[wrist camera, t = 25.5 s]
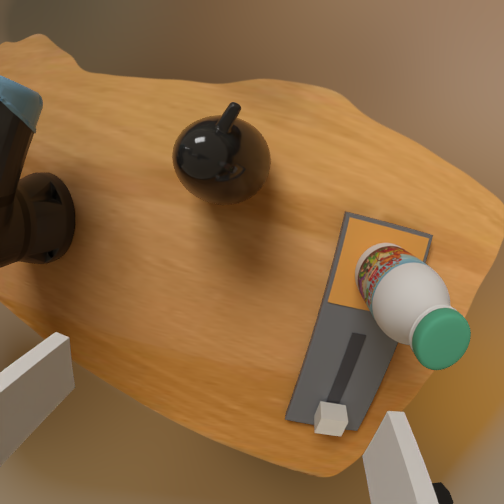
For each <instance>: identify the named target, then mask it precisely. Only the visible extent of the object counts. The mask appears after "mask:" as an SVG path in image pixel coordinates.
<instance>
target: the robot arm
mask: <svg viewBox="0 0 504 504" xmlns="http://www.w3.org/2000/svg"><path fill="white" fill-rule="evenodd" d="M42 107H43V100H42V98H41V96H40V95H39V94H38V93H37V92H35V91H33V90H31V89H29V88H27V87H25V86H23V85H21V84H18V83H16V82H14V81H12V80H10V79H7V78H5V77H3V76H1V75H0V268H1V267H3V266H6V265H9V264H11V263H14V262H18V261H20V262H28V263H36V264H45V263H49V262H52V261H55V260H57V259H59V258H60V257H61V256H63V255H64V254H65V252H66V251H67V249H68V248H69V246H70V244H71V241H72V238H73V234H74V228H75V212H74V206H73V202H72V198H71V195H70V193H69V191H68V189H67V187H66V186H65V184H64V183H63V182H62V181H61V180H60V179H59V178H58V177H57V176H55V175H53V174H51V173H33V174H30V175H27V176H25V177H24V178H22V179H20V175H21V172H22V168H23V165H24V162H25V159H26V156H27V152H28V149H29V146H30V143H31V141H32V138H33V135H34V133H36V125H37V122H38V119H39V116H40V113H41V110H42ZM19 179H20V180H19ZM74 388H75V383H74V376H73V368H72V360H71V350H70V339H69V337H67V336H65V335H62V334H60V333H57V332H55V333H54V334H52V335H51V336H49V337H48V338H47V339H45V340H44V341H43V342H41V343H40V344H38V345H37V346H36V347H34V348H33V349H31V350H30V351H29V352H27V353H26V354H25V355H23V356H22V357H21V358H19V359H18V360H16V361H15V362H14V363H13V364H11V365H10V366H8V367H7V368H6V369H4V370H3V371H2V372H0V467H1V465H2V464H3V463H4V462H5V461H6V460H7V459H8V458H9V457H10V456H11V454H12V453H13V452H14V451H15V450H16V449H17V448H18V447H19V446H20V445H21V444H22V443H23V442H24V440H25V439H26V438H27V437H28V436H29V435H30V434H31V433H32V432H33V431H34V430H35V429H36V428H37V427H38V426H39V425H40V423H41V422H42V421H43V420H44V419H45V418H46V417H47V416H48V415H49V414H50V413H51V412H52V411H53V410H54V409H55V408H56V407H57V406H58V405H59V404H60V403H61V401H62V400H63V399H64V398H65V397H66V396H67V395H68V394H69V393H70V392H71V391H72V390H73V389H74ZM362 457H363V462H364V467H365V472H366V477H367V483H368V488H369V494H370V499H371V504H453V500H452V498H451V495H450V492H449V491H448V490H447V489H446V488H445V486H444V485H443V484H442V483H441V482H440V483H431V480H430V477H429V475H428V472H427V469H426V466H425V464H424V461H423V458H422V456H421V453H420V451H419V448H418V445H417V443H416V441H415V438H414V435H413V433H412V431H411V428H410V426H409V423H408V421H407V418H406V416H405V413H404V412H395V411H387V413H386V415H385V417H384V419H383V421H382V422H381V424H380V426H379V428H378V430H377V432H376V433H375V435H374V437H373V439H372V441H371V442H370V444H369V446H368V447H367V449H366V451H365V453H364V454H363V456H362Z"/></svg>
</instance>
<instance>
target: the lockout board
mask: <svg viewBox="0 0 504 504" xmlns="http://www.w3.org/2000/svg"><path fill="white" fill-rule="evenodd" d="M432 236H433V235H430V234H428V233H424V232H421V231H417V230H414V229H410V228H407V227H403V226H399V225H396V224H392V223H388V222H385V221H381V220H377V219H373V218H369V217H366V216H362V215H358V214H354V213H350V212H346V211H345V214H344V218H343V222H342V226H341V231H340V235H339V239H338V243H337V247H336V251H335V255H334V259H333V262H332V266H331V270H330V274H329V277H328V281H327V285H326V288H325V292H324V295H323V299H322V303H321V306H320V309H319V313H318V316H317V320H316V323H315V326H314V330H313V333H312V336H311V339H310V343H309V346H308V349H307V352H306V355H305V358H304V361H303V365H302V368H301V371H300V374H299V377H298V380H297V383H296V385H295V388H294V391H293V394H292V397H291V400H290V403H289V406H288V408H287V411H286V415H285V420H290V421H295V422H301V423H307V424H312V425H314V415H315V413H316V410H317V408H318V406H319V403H320V401H323V402H328V403H335V404H341V405H346V410H347V416H348V424H347V426H346V428H345V429H346V430H354V431H357V430H358V428H359V426H360V424H361V422H362V420H363V419H364V417H365V415H366V413H367V411H368V409H369V407H370V405H371V403H372V400H373V398H374V396H375V394H376V392H377V390H378V388H379V386H380V383H381V381H382V379H383V377H384V375H385V372H386V370H387V368H388V365H389V363H390V361H391V358H392V356H393V354H394V351H395V349H396V346H397V344H398V342H397V341H395V340H393V339H392V338H390V337H389V336H387V335H386V334H385V333H384V332H383V331H382V329H381V328H380V327H379V325H378V324H377V322H376V321H375V319H374V318H373V316H372V314H371V312H370V310H369V309H368V307H367V305H366V303H365V301H364V299H363V297H362V295H361V294H360V292H359V290H358V287H357V285H356V281H355V268H356V265H357V262H358V260H359V258H360V257H361V255H362V254H363V253H364V252H365V251H366V250H367V249H368V248H370V247H372V246H374V245H376V244H379V243H392V244H395V245H398V246H400V247H401V248H403V249H405V250H406V251H408V252H409V253H411V254H412V255H414V256H415V257H417V258H418V259H420V260H421V261H422V262H424V263H425V262H426V259H427V255H428V251H429V248H430V244H431V240H432Z"/></svg>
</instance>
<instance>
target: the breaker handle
mask: <svg viewBox="0 0 504 504" xmlns="http://www.w3.org/2000/svg"><path fill="white" fill-rule="evenodd" d="M347 424H348V416H347V410H346V405H341V404H335V403H328V402H323V401H320V403H319V406H318V408H317V410H316V413H315V415H314V428H315V433H319V434H326V435H333V436H342V434H343V432H344V430H345V428H346V426H347Z"/></svg>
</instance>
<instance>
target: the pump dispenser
mask: <svg viewBox="0 0 504 504" xmlns="http://www.w3.org/2000/svg"><path fill="white" fill-rule="evenodd" d="M240 110H241V106H240V105H239V104H237V103H235V102H231V103H230V104H229V106H228V107H227V109H226V110H225V112H224V113H223V114H222V115H216V116H209V117H206V118H202V119H200V120H197V121H195V122H193V123H192V124H190V125H189V126H187V127H186V128H185V129H184V130H183V131H182V132H181V133H180V135H179V136H178V138H177V140H176V142H175V144H174V148H173V154H172V159H173V166H174V169H175V172H176V174H177V177H178V178H179V180H180V182H181V183H182V184H183V186H184V187H185V188H186V189H187V190H188V191H189V192H190V193H192V194H193V195H194V196H196V197H198V198H200V199H202V200H204V201H207V202H210V203H213V204H218V205H232V204H237V203H240V202H243V201H245V200H247V199H249V198H251V197H252V196H253V195H255V194H256V193H257V192H258V191H259V190H260V189H261V187H262V186H263V185H264V183H265V181H266V179H267V177H268V174H269V170H270V164H271V158H270V151H269V147H268V145H267V142H266V140H265V139H264V137H263V136H262V134H261V133H260V132H259V131H258V130H257V129H256V128H255V127H254V126H252V125H251V124H250V123H248V122H246V121H244V120H242V119H239V118H237V116H238V114H239V112H240Z"/></svg>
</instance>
